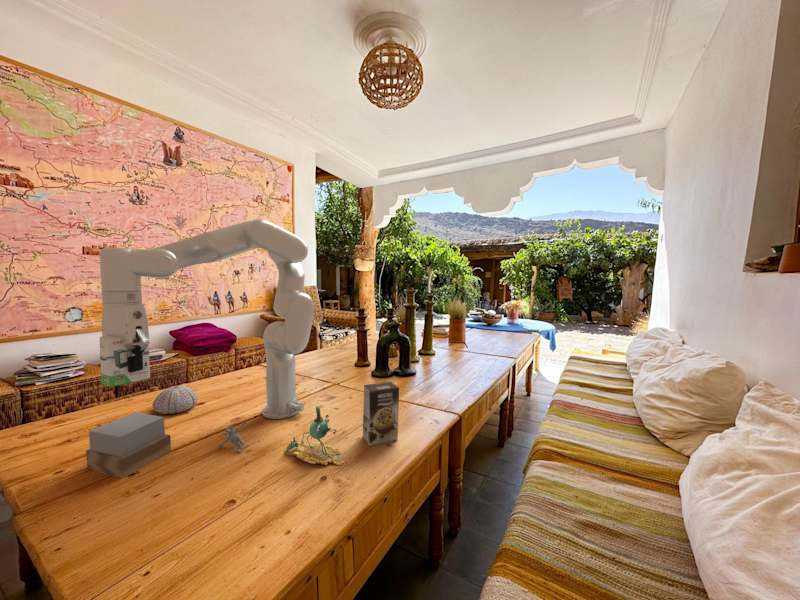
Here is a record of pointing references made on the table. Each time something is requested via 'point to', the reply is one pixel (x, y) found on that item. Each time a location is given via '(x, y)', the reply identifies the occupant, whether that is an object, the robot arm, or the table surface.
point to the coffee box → (380, 413)
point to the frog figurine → (316, 445)
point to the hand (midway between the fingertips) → (126, 369)
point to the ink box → (119, 363)
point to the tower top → (126, 434)
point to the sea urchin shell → (175, 400)
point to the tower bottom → (128, 458)
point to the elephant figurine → (234, 437)
